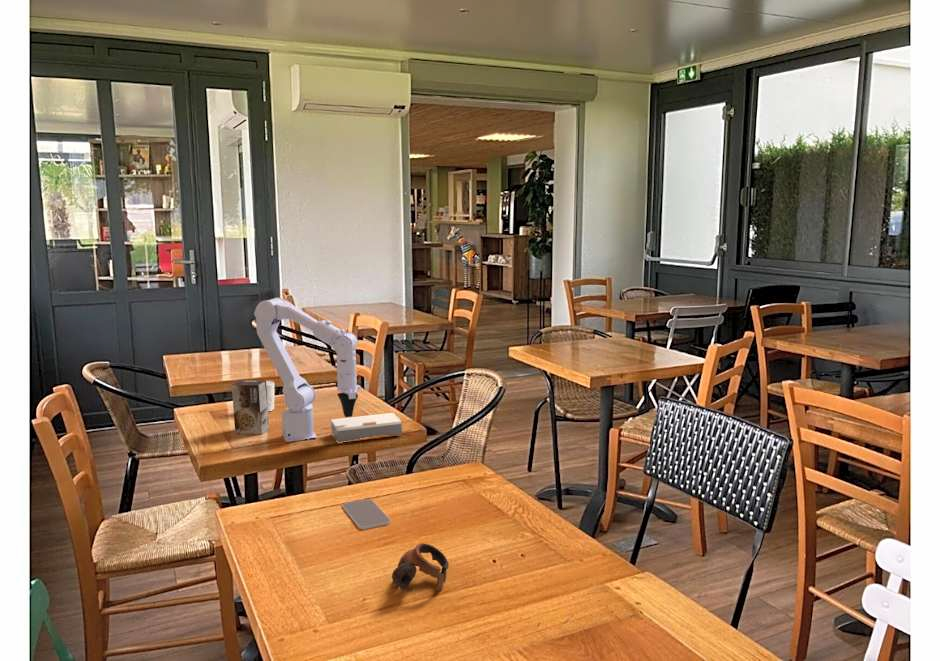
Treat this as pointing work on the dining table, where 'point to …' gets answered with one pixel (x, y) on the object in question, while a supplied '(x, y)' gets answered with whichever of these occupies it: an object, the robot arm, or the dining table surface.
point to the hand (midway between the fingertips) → (348, 416)
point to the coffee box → (250, 406)
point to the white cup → (270, 395)
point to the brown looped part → (420, 566)
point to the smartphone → (366, 514)
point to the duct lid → (365, 421)
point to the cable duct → (366, 432)
